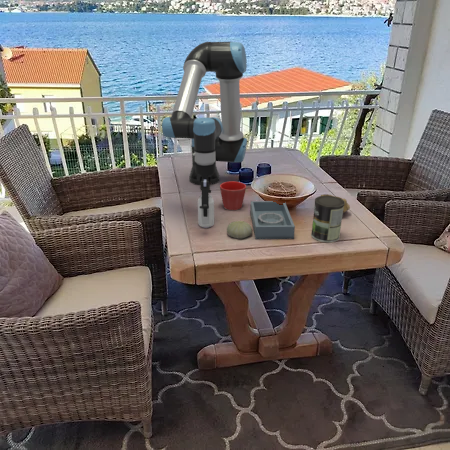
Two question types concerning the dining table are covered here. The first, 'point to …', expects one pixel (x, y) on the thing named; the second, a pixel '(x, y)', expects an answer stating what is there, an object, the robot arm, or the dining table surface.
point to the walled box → (271, 231)
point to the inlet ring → (270, 215)
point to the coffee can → (327, 218)
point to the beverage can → (211, 212)
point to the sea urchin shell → (239, 229)
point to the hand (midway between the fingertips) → (206, 216)
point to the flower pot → (232, 194)
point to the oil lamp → (346, 205)
